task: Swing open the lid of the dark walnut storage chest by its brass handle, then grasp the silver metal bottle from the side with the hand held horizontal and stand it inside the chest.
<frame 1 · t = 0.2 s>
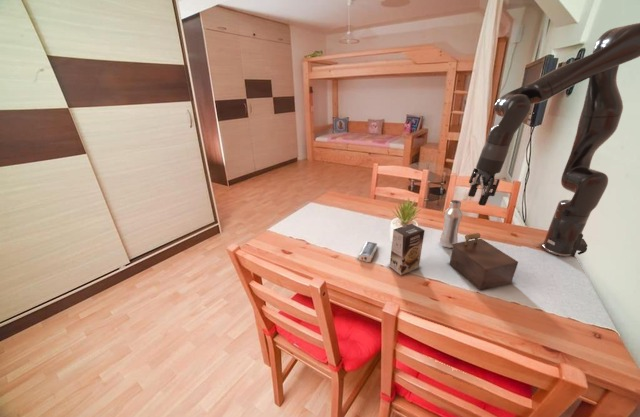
hand: (475, 200, 96), 22 cm above the table, tool pointing down, fingers open, 8 cm apart
chest: (478, 273, 93), on the table
lid: (484, 248, 89), point 10 cm above the table, hinge at 0.0°
silver metal bottle: (447, 246, 110), on the table
multiport hub: (368, 254, 107), on the table
coffee box: (404, 267, 98), on the table
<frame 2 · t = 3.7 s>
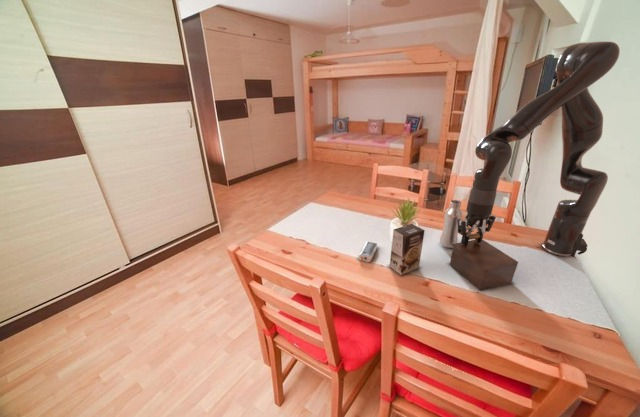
hand: (471, 242, 95), 9 cm above the table, tool pointing down, fingers closed on lid, 5 cm apart
lid: (484, 248, 89), point 10 cm above the table, hinge at -0.1°, touching gripper
everything else where it was.
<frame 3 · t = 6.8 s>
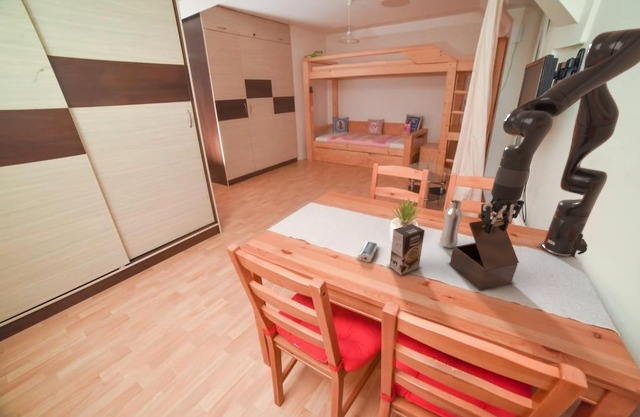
hand: (494, 231, 84), 18 cm above the table, tool pointing down, fingers closed on lid, 5 cm apart
lid: (498, 241, 84), point 15 cm above the table, hinge at 49.3°, touching gripper
everything else where it was.
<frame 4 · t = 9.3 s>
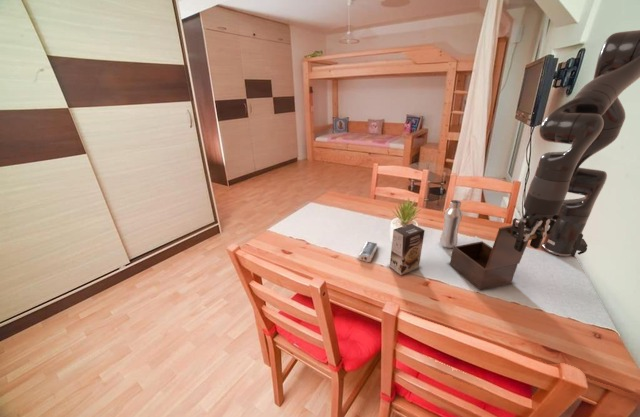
hand: (526, 248, 75), 18 cm above the table, tool pointing down, fingers closed on lid, 5 cm apart
lid: (515, 250, 78), point 16 cm above the table, hinge at 93.2°, touching gripper
everything else where it was.
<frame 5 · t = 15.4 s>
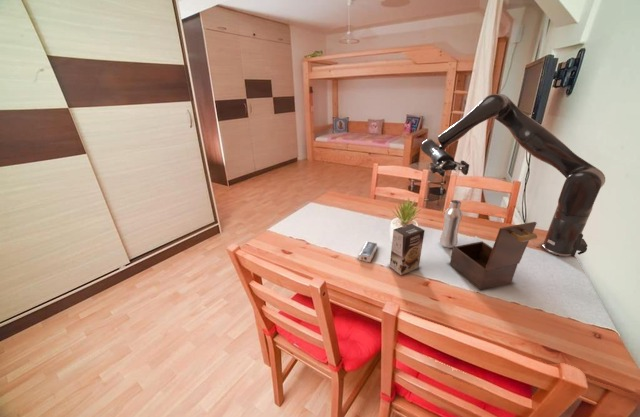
hand: (455, 173, 104), 29 cm above the table, tool horizontal, fingers open, 8 cm apart
lid: (515, 250, 78), point 16 cm above the table, hinge at 93.8°
everything else where it was.
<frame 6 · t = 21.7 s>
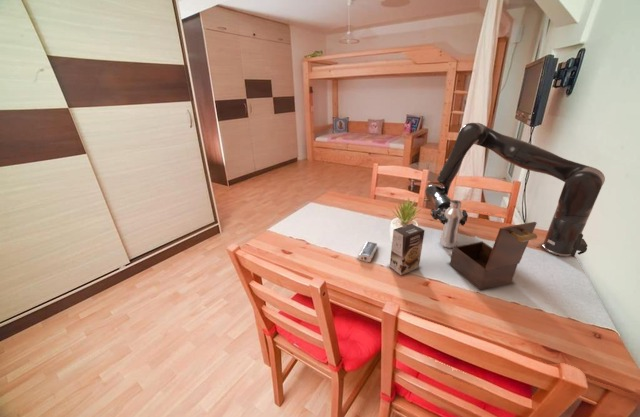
hand: (453, 222, 103), 12 cm above the table, tool horizontal, fingers closed on silver metal bottle, 6 cm apart
silver metal bottle: (447, 246, 110), on the table, touching gripper
everything else where it was.
when the fingers open (13 cm above the table, at t = 31.1 s): silver metal bottle stays where it is, resting on chest.
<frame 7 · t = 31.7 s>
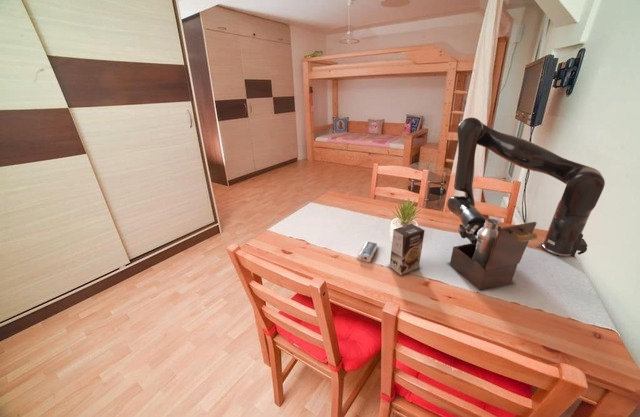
hand: (489, 243, 86), 14 cm above the table, tool horizontal, fingers open, 8 cm apart
silver metal bottle: (479, 271, 93), point 1 cm above the table, touching chest
everything else where it was.
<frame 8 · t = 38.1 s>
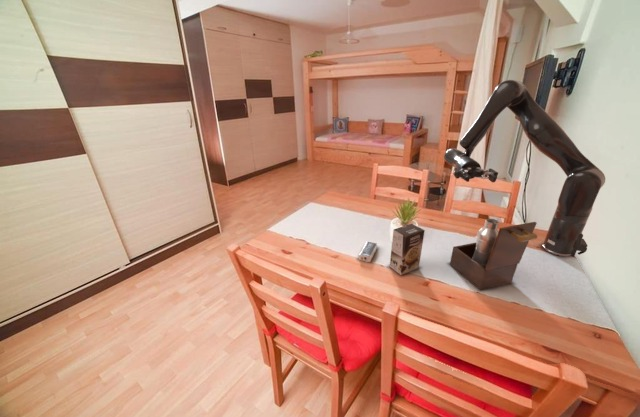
hand: (481, 179, 94), 30 cm above the table, tool horizontal, fingers open, 8 cm apart
nothing on the table moved.
at the end: lid at +94° (first picture: +0°); silver metal bottle inside the target area in the chest (0.1 cm from its centre), point 0.6 cm above the chest's base; silver metal bottle tilted 0° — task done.
